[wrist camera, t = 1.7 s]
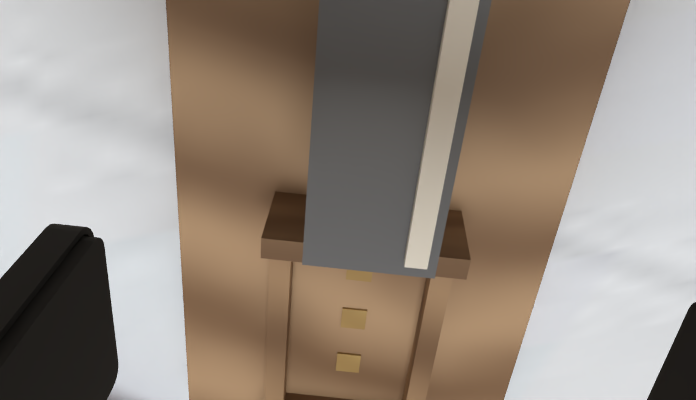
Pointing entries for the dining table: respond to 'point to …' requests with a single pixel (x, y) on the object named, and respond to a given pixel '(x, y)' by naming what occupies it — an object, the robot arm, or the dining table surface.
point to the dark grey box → (388, 130)
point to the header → (290, 205)
